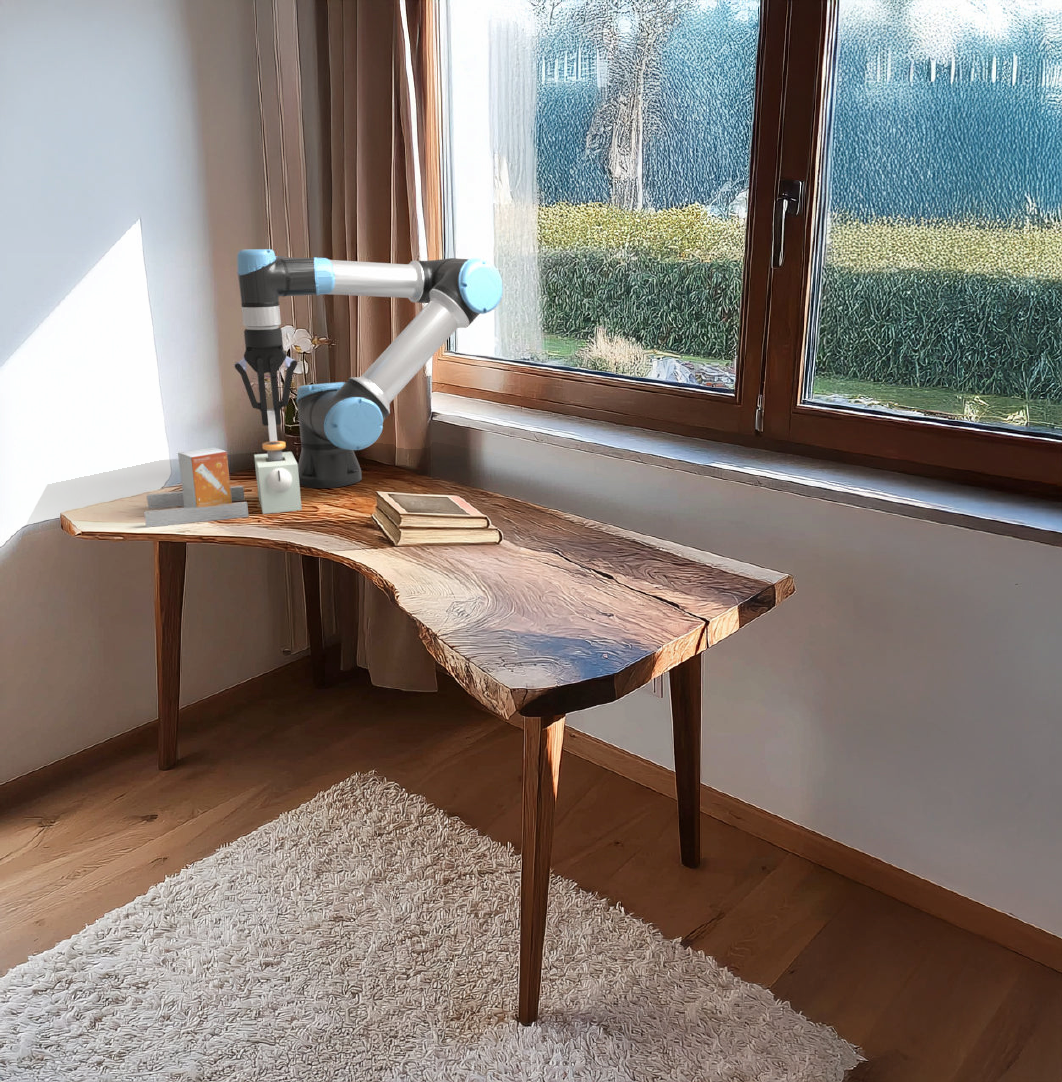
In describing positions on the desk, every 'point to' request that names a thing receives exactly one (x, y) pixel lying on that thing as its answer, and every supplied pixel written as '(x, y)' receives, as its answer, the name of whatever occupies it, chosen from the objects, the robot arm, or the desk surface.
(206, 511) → the guide rails
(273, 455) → the button
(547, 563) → the desk surface
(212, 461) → the small box
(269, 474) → the gauge cabinet
